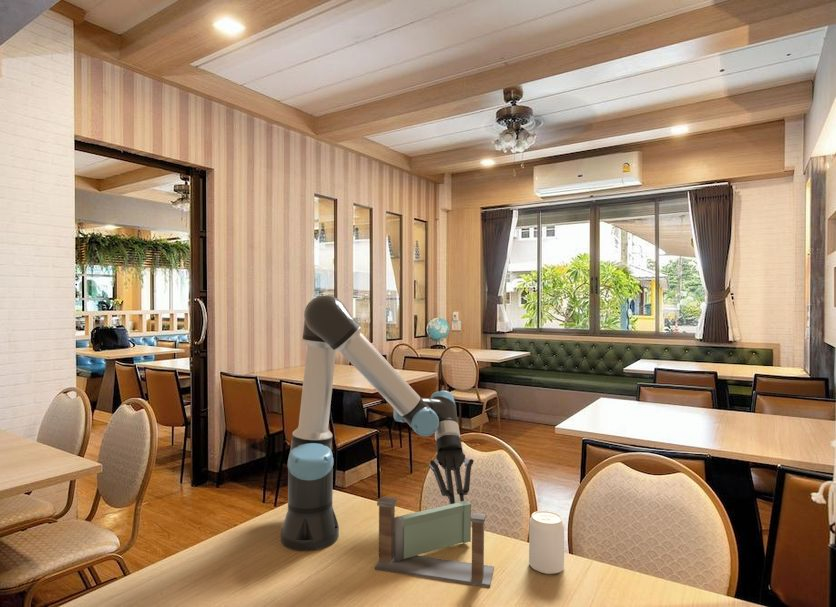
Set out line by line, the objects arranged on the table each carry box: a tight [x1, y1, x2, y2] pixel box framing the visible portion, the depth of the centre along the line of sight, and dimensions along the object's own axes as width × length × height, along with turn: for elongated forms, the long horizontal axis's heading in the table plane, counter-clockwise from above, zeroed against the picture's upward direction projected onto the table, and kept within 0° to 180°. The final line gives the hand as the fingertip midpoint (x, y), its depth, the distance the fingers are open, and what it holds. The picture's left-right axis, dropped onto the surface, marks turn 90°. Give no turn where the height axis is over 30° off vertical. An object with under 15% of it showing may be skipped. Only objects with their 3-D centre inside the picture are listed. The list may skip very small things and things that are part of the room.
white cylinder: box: [528, 510, 565, 575], centre depth 120 cm, size 8×8×12 cm
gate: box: [394, 500, 472, 561], centre depth 126 cm, size 2×22×10 cm, turn 119°
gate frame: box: [374, 496, 495, 588], centre depth 118 cm, size 8×28×15 cm, turn 75°
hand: (459, 520), depth 133 cm, fingers closed
